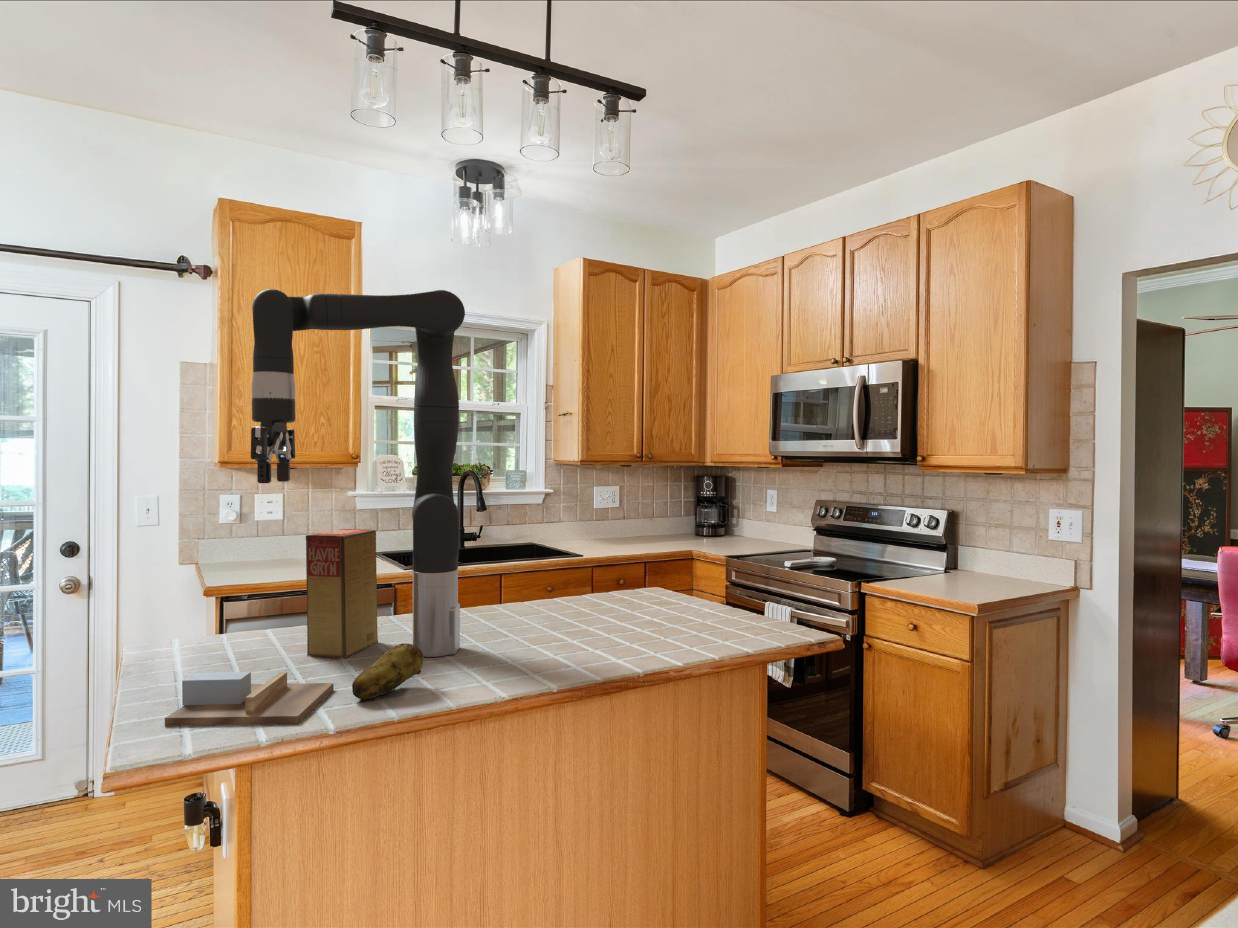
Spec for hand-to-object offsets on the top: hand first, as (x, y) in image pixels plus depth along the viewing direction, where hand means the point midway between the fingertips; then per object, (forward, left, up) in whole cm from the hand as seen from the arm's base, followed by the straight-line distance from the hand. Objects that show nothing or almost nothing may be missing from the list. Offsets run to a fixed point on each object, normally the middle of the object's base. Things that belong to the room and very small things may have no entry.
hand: (274, 482), depth 139 cm
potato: (-25, +14, -36) cm, 46 cm away
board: (-5, +20, -36) cm, 42 cm away
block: (-4, +20, -33) cm, 39 cm away
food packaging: (-8, -15, -36) cm, 40 cm away
